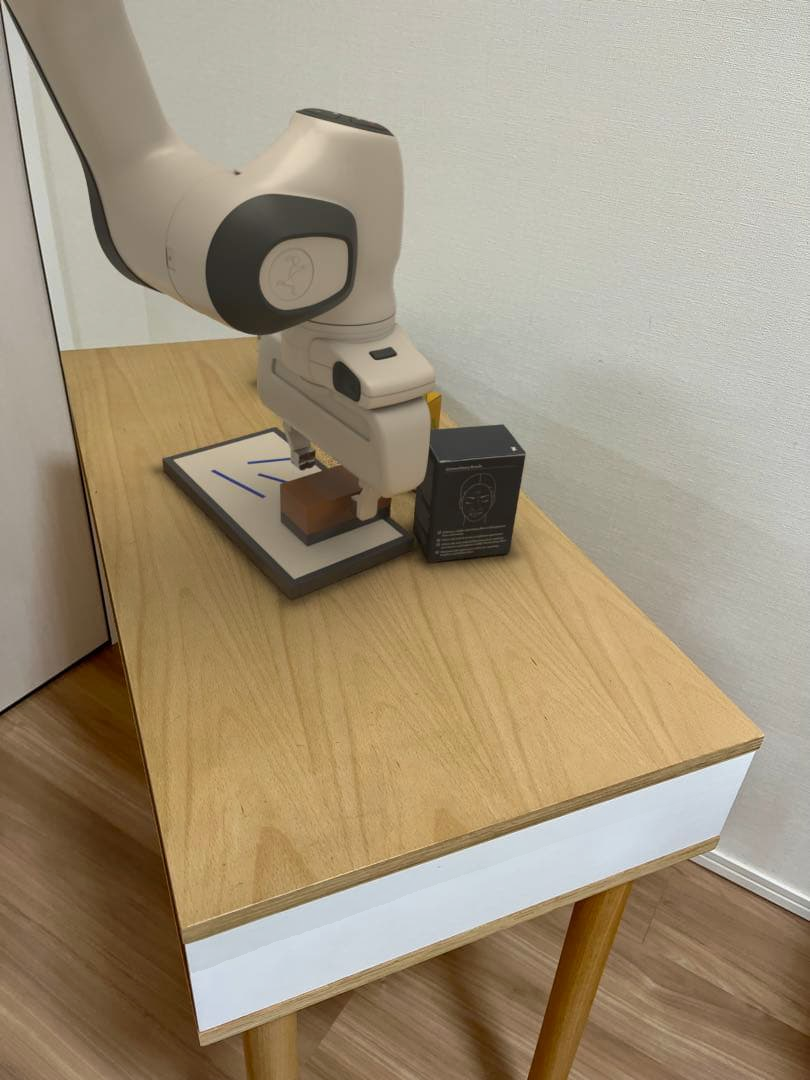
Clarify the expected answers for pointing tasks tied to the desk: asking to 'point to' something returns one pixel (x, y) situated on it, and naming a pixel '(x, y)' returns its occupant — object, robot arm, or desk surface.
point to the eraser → (324, 505)
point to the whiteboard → (276, 513)
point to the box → (469, 492)
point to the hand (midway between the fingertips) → (331, 489)
